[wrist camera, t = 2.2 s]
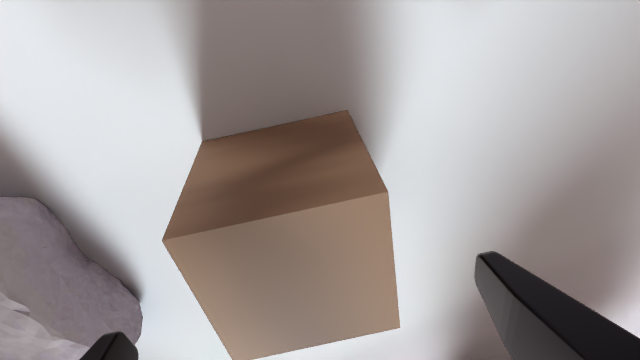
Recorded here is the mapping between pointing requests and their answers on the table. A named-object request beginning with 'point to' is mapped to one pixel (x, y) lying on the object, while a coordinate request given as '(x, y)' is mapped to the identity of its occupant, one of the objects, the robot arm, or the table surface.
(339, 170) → the tan cube
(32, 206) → the stone block
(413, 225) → the table surface
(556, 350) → the robot arm
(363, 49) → the table surface
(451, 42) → the table surface
